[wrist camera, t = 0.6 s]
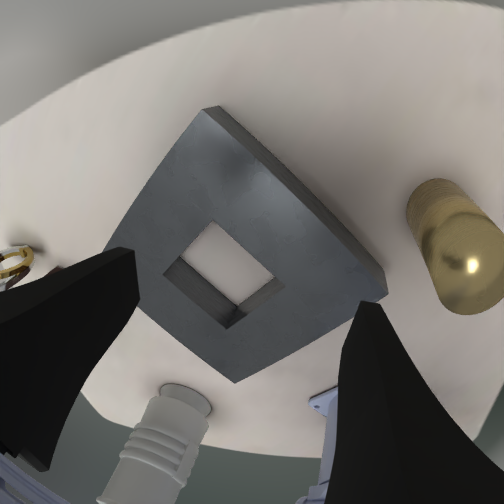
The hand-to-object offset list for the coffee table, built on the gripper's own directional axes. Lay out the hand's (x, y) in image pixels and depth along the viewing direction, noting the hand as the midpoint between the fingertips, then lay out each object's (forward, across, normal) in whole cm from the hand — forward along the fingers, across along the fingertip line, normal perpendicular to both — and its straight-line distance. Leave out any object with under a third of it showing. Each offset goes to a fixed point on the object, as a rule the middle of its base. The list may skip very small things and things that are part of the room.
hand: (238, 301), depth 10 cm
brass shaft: (+10, -9, -1) cm, 14 cm away
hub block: (+10, +3, +5) cm, 12 cm away
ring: (+10, +24, +9) cm, 28 cm away
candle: (+10, +7, +24) cm, 28 cm away
